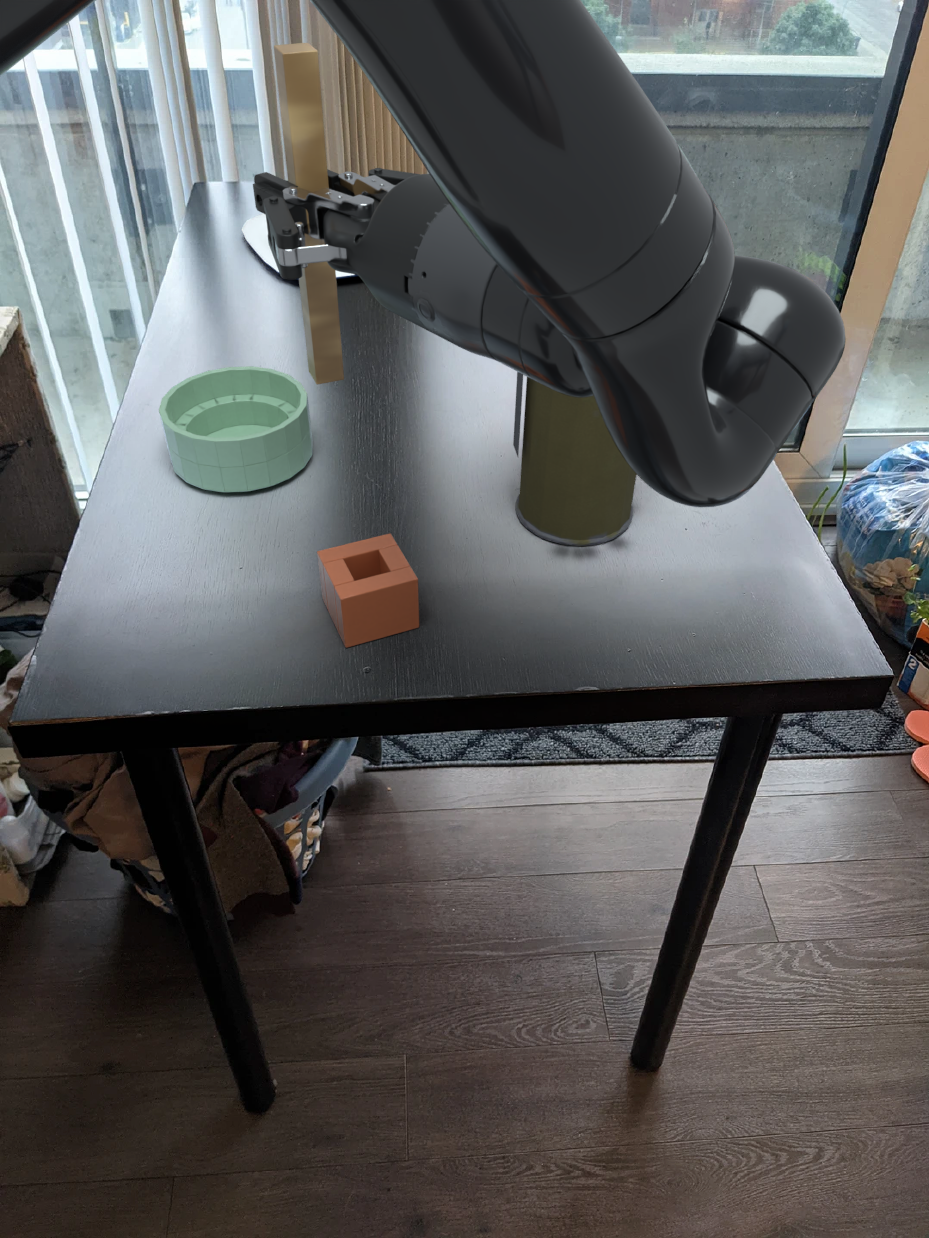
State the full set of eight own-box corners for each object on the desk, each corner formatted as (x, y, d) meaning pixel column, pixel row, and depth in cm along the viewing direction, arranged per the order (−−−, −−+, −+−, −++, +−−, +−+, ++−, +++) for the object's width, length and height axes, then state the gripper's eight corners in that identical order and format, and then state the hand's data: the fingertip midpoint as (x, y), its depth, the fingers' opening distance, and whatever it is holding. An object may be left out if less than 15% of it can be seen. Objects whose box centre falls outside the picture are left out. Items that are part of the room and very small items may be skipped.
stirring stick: (316, 385, 65) (282, 53, 51) (308, 372, 66) (273, 45, 53) (344, 380, 66) (318, 50, 52) (336, 367, 67) (308, 42, 53)
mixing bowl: (187, 511, 84) (174, 453, 80) (161, 436, 93) (148, 381, 89) (330, 479, 88) (324, 422, 84) (292, 410, 97) (285, 356, 93)
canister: (614, 473, 89) (644, 263, 76) (647, 541, 82) (687, 322, 68) (500, 482, 88) (510, 270, 74) (523, 552, 80) (539, 331, 67)
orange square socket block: (345, 648, 72) (340, 599, 68) (322, 599, 76) (316, 550, 72) (419, 627, 73) (418, 578, 70) (393, 581, 77) (390, 532, 74)
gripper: (564, 167, 51) (364, 98, 60) (361, 231, 44) (170, 142, 53) (554, 300, 56) (371, 218, 66) (370, 377, 49) (194, 273, 58)
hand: (281, 185), depth 59 cm, fingers closed on stirring stick, 2 cm apart
